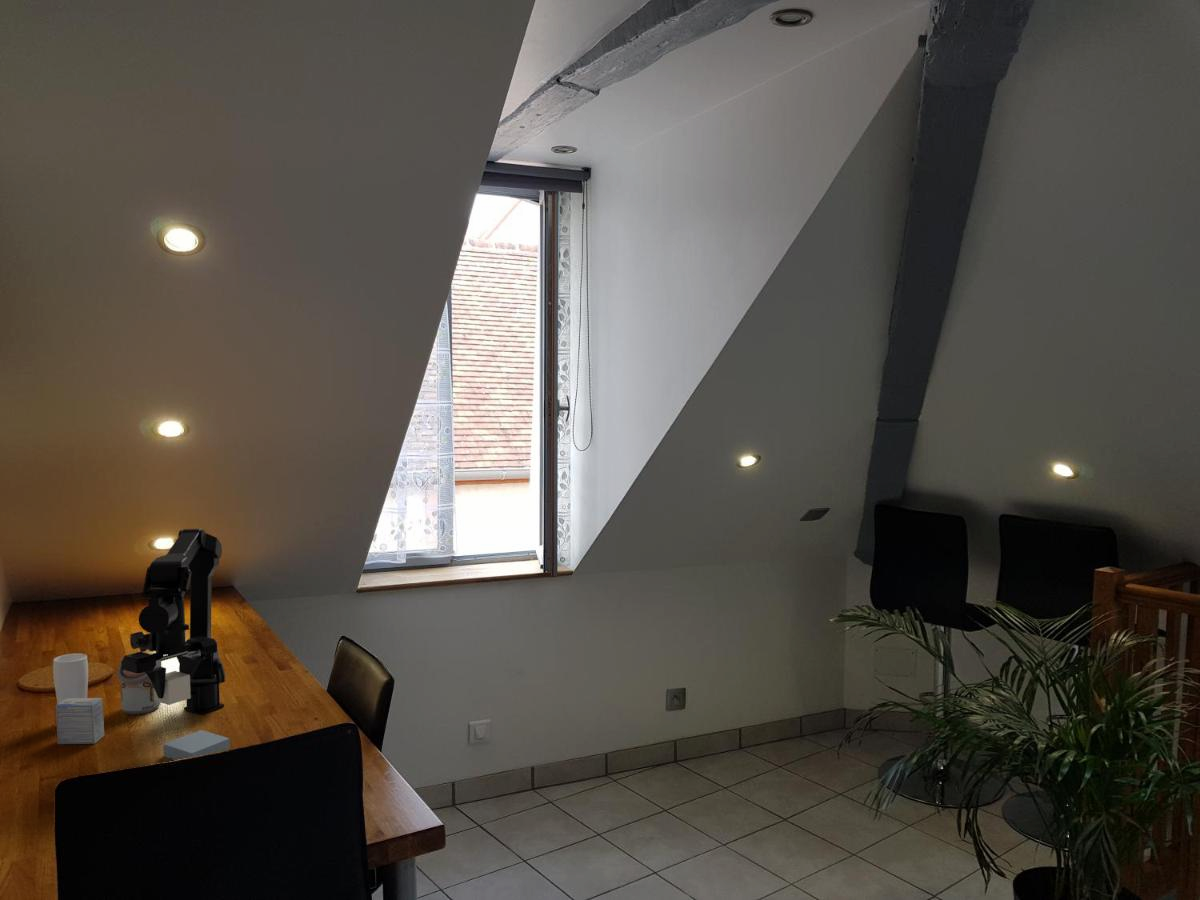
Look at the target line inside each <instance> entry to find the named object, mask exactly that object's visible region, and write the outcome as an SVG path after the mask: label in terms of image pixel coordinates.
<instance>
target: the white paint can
mask: <svg viewBox="0 0 1200 900" xmlns="http://www.w3.org/2000/svg"><path fill="white" fill-rule="evenodd" d="M123 658H124V657H123ZM123 658H122V659H123ZM122 659H121V660H120V662H121V661H122ZM116 673H117V675H116V676H117V678H118V679H119V680H120V694H121V695H120V696H121V698H120V699H121V709H122V710H123V712H124V713H126V714H129V715H142V714H147V713H152V712H154V711H155V710H157V709H158V708H159V706H160V705H161V703H160V702H157V701H154V687H153V685H152V682H151V680H150V679H149V677H148V675H147V674H146V673H145V672H143V673H133V672H130V671H126V670H122V665H121V663H120V665H119V667H118V669H117V672H116Z"/></svg>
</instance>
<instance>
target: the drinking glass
mask: <svg viewBox="0 0 1200 900" xmlns="http://www.w3.org/2000/svg"><path fill="white" fill-rule="evenodd" d="M52 662H53V663H52V667H53V668H52V671H53V682H54V683H53V684H54V689H55V696H56V701H57V702H56V703H57V704H59V703H60V702H61V701H63V700H65V699H67V698H88V690H89V689H88V688H89V687H88V686H89V685H88V684H89V663H88V655H87V654H86V653H68V654H67V653H66V654H63V655H59V656H56V657H54V658H53V661H52ZM57 704H56V705H57Z"/></svg>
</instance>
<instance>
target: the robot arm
mask: <svg viewBox="0 0 1200 900" xmlns="http://www.w3.org/2000/svg"><path fill="white" fill-rule="evenodd" d="M177 535H178V538H177V539H176V540H175V542H174V543H173V544H172V545H171V547H170V549H169V550H168V552H167V553H166V554H165V555H162V556H158V557H156V558H155V559H154V560H152V562H151V563H150V564H149V566H148V567H147V569H146V573H145V579H144V584H143V590H142V594H141V595H142V596H141V597H142V599H143V598H144V599H148V604H147V605H146V606H144V607H143V608H142V609H141V611H140V612H139V615H138V624H139V626H140V627H141V629H142V630H143V631H145V632H147V634H144V632H143V631H138V632H133V633H131V634H130V635H129V636H130V640H129V642H130V647H131V648H132V650H136V649H139V651H138V652H137V651H136V652H133V653H129V654H127V655H126V654H125V655H124V656H123V659H121V660H122V661H121V660H120V664H121V665H122V670H126V671H130V672H133V673H143V672H145V673H146V674H147V675H148V677H149V679H150V680H151V682H152V685H153V687H154V689H155V691H156V694H157V696H158V698H160V699H162V698H163V696H164V690H165V676H166V673H167V667H163V666H162V662H163V661H167V660H170V659H175V658H176V660H177V661H178V664H179V667H178V670H179V671H178V672H181V673H185V674H189V675H190V695H191V698H190V699H186V700H185V701H186V706H184V707H183V710H184V711H188V712H192V713H195V714H198V715H203V714H206V713H209V712H213V711H215V710H217V709H218V710H219V709H221V708H223V707H225V704H224V703H222V702H221V701H220V700H221V699H220V685H221V684H223V683H225V682H226V672H225V671H226V670H225V667H224V664H223V662H222V660H221V658H220V656H219V649H218V642H217V641H216V639H215V638H213V637H212V583H213V582H212V579H213V578H212V576H213V575H214V573H215V572H216V570H217V568H218V567H219V565H220V559H221V558H222V554H223V549H222V548H223V547H222V543H221V541H220V540H219V539H218V537H217V536H214V535H212V534H209V533H206V531H205V530H204V529H201V528H184V529H180V530H179V532H178V534H177ZM189 587H190V588H189ZM189 589H190V591H189ZM188 591H189V597H190V598H189V624H188V623H186V617H185V614H186V613H185V594H186V592H188ZM186 631H189V638H188V639H187V640H186ZM146 651H149V652H154V653H147V652H146Z"/></svg>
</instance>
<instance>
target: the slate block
mask: <svg viewBox="0 0 1200 900" xmlns="http://www.w3.org/2000/svg"><path fill="white" fill-rule="evenodd" d="M230 745H231V743H230V738H229V737H226V736H222V735H220V734H216V733H212V732H209V731H206V730H203V729H200V730H198V731H195V732H192V733H190V734H186V735H184V736H182V737H179V738H175V739H173V740H170V741H168V742H166V743H163V744H162V746H163V750H162V751H163V757H165V758H167V759H170V758H172V759H171V760H173V761H176V760H177V759H183V758H189V757H195V756H200V755H206V754H211V753H215V752H219V751H223V750H227V749H230V750H231V746H230Z"/></svg>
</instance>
